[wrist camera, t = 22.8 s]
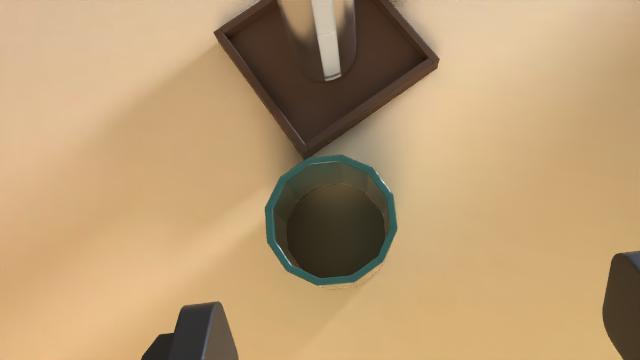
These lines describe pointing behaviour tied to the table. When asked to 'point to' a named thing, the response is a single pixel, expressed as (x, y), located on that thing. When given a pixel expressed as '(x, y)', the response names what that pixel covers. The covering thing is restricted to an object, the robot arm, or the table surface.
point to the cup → (308, 179)
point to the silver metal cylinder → (321, 36)
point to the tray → (333, 96)
